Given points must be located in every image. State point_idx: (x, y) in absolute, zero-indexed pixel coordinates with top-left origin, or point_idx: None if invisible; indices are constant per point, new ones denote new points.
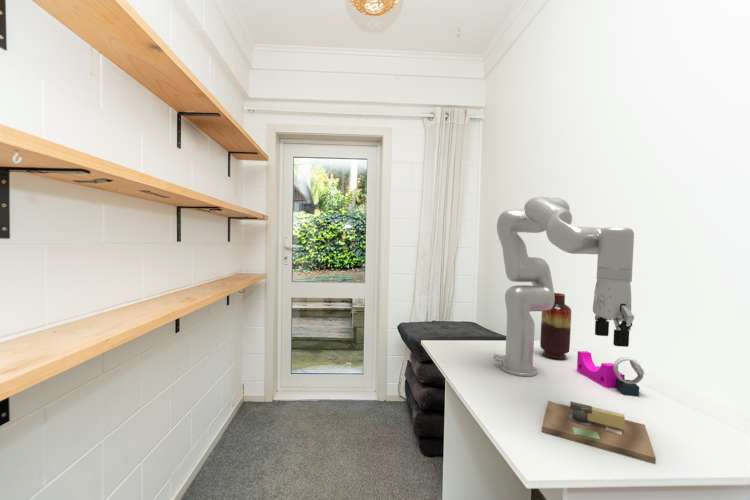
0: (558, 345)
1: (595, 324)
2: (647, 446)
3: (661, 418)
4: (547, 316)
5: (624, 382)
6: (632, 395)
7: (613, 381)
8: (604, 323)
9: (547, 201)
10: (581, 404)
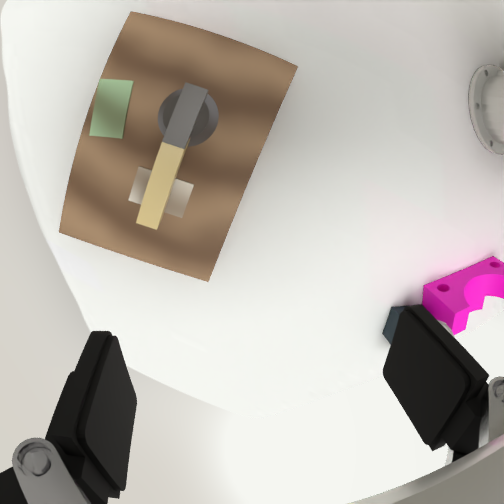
0: None
1: (464, 352)
2: (97, 237)
3: (287, 336)
4: None
5: None
6: (386, 323)
7: (430, 307)
8: (435, 418)
9: None
10: (190, 118)
